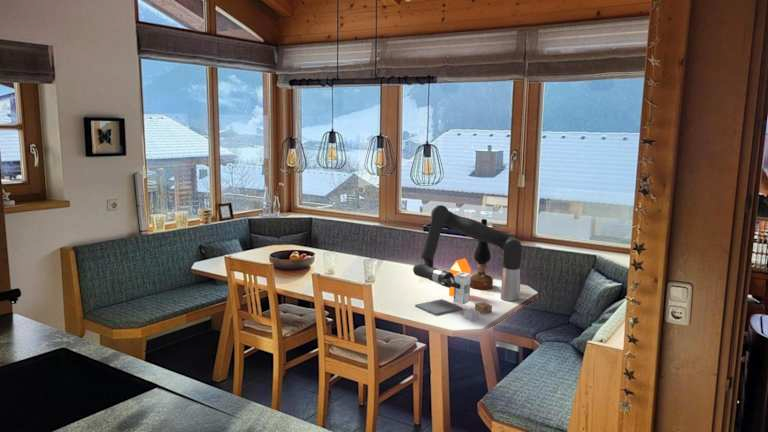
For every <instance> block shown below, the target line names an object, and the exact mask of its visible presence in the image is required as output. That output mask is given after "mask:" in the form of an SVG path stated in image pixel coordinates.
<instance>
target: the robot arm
mask: <svg viewBox="0 0 768 432" xmlns="http://www.w3.org/2000/svg"><path fill="white" fill-rule="evenodd" d="M430 216H431V221H430V226H429V230H428V233H427V235H426V238H425V240H424V243H423V247H422V250H421V253H420V257H421V259H423V260H424V263H422V262H418V263H415V264H414V266H413V269H412V271H413V273H414V275H415V276H417V277H421V278H424V279H427V280H429V281H432V282H434V283H436V284H437V285H438V284H439V285H441V286H443V287H444V288H445V287H446V288H447V289H449V288H450V287H452V288H453V287H455V288H457V289H460V284H457V283H454V282H455V277H454V275H453V274H452V273H451V272H450V271H447V270H445V269H442V268H441V269H440V268H437V267H434V260H435V259H434V257H435V255H436V251H437V249H438V248H437V247H438V244H439V241H440V237H441V232H442V230H443V228H444V226H447V227H450V228H452V229H454V230H456V231H458V233H462V234H463V235H465V236H467V237H469V238H471V239H473V240H477V241H478V242H479V241H482V242H486V243H487V244H491V245H495V246H496V247H498V248H500V249H503V257H502V258H503V260H502V268H501V269H502V272H501V273H502V274H501V287H500V288H501V291H500V299H501V300H503V301H508V302H516V301H518V300H519V299H520V297H521V296H520V295H521V294H520V293H521V281H520V276H521V275H520V273H521V266H522V265H521V264H522V256H523V255H522V254H523V246H522V243H521V241H520V239H519V238H516V237H514V236H511V235H508V234H505V233H502V232H500V231H498V230H496V229H494V228H492V227H490V226H488V225H487V226H486V225H484V224H482V223H481V222H479V221H477V220H474V219H472V218H468V217H463V216H461V215H458V214H455V213H453V212H452V211H450V210H449V209H448V208H447V206H446V205H442V204H439V205H438V204H437V205H436V206H435V207H434V208H433V209H432V210H431V215H430ZM471 285H472V283H471V282H470V286H471Z"/></svg>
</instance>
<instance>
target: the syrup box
mask: <svg viewBox="0 0 768 432" xmlns="http://www.w3.org/2000/svg"><path fill="white" fill-rule="evenodd" d="M471 276H472V275H471V274H468V273H465V272H460V273H457V274H455V282H454V283H457V284H460V289H457V288H455V287H454V296H453V303H454V304H455V303H456V304H461V305H465V304H468V303H469V302H470V295H471V294H470V293H471V292H470V291H471V288H470V278H471Z"/></svg>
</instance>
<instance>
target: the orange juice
mask: <svg viewBox="0 0 768 432" xmlns="http://www.w3.org/2000/svg"><path fill="white" fill-rule="evenodd" d="M471 271H472V270H471V266H470V265H469V262H468V261H467V258H461V259H458V260H457V259H456V260H455V261H454V263H453V265H452V266H451V268H450V269H449V272H451V273H452V274H453V275H454V277H455V274H457V273H460V272H465V273H468V274H471ZM448 289H449V291H448V296H451V297H454V287H453V288H452V287H450V288H448Z"/></svg>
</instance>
